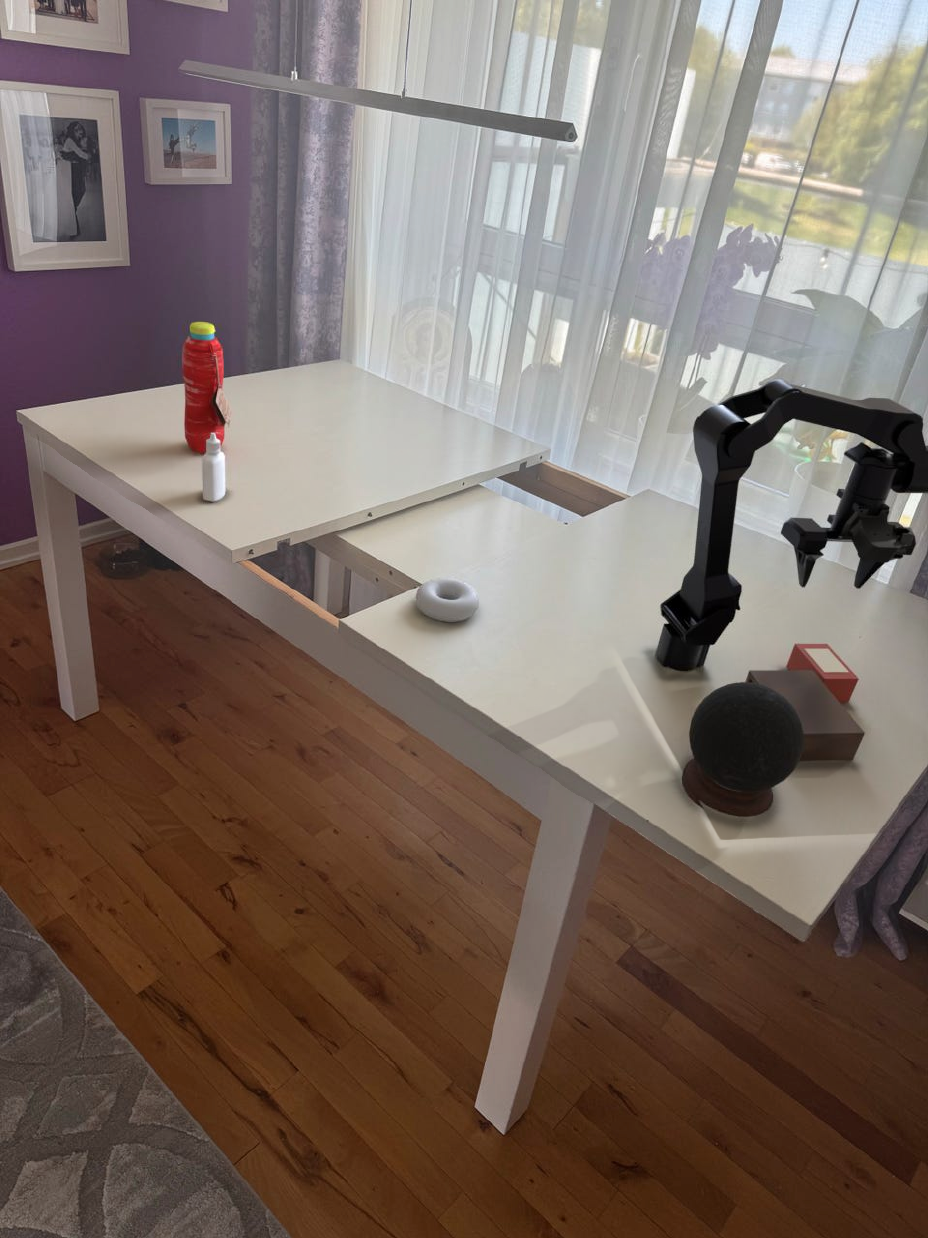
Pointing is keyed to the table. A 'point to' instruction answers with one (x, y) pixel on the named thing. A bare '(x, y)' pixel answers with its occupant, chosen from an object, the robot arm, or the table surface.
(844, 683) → the carton
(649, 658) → the table surface
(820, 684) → the block
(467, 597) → the donut
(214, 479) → the eye dropper bottle
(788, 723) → the sphere on wooden stand
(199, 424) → the water bottle
